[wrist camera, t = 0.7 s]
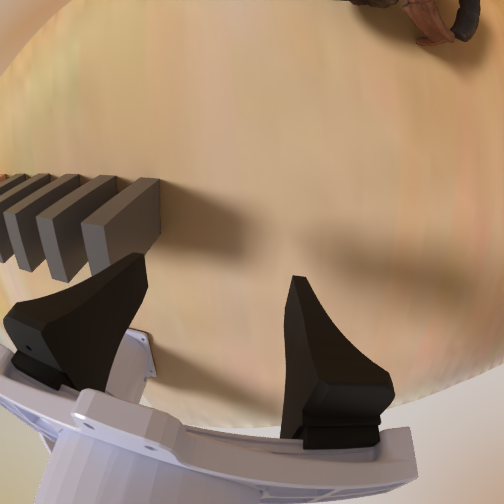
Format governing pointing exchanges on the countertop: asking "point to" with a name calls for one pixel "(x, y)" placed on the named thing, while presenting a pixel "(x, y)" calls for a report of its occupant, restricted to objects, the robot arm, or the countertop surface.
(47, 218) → the domino
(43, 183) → the domino
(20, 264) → the domino
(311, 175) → the countertop surface
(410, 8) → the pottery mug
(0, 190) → the domino
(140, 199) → the domino
